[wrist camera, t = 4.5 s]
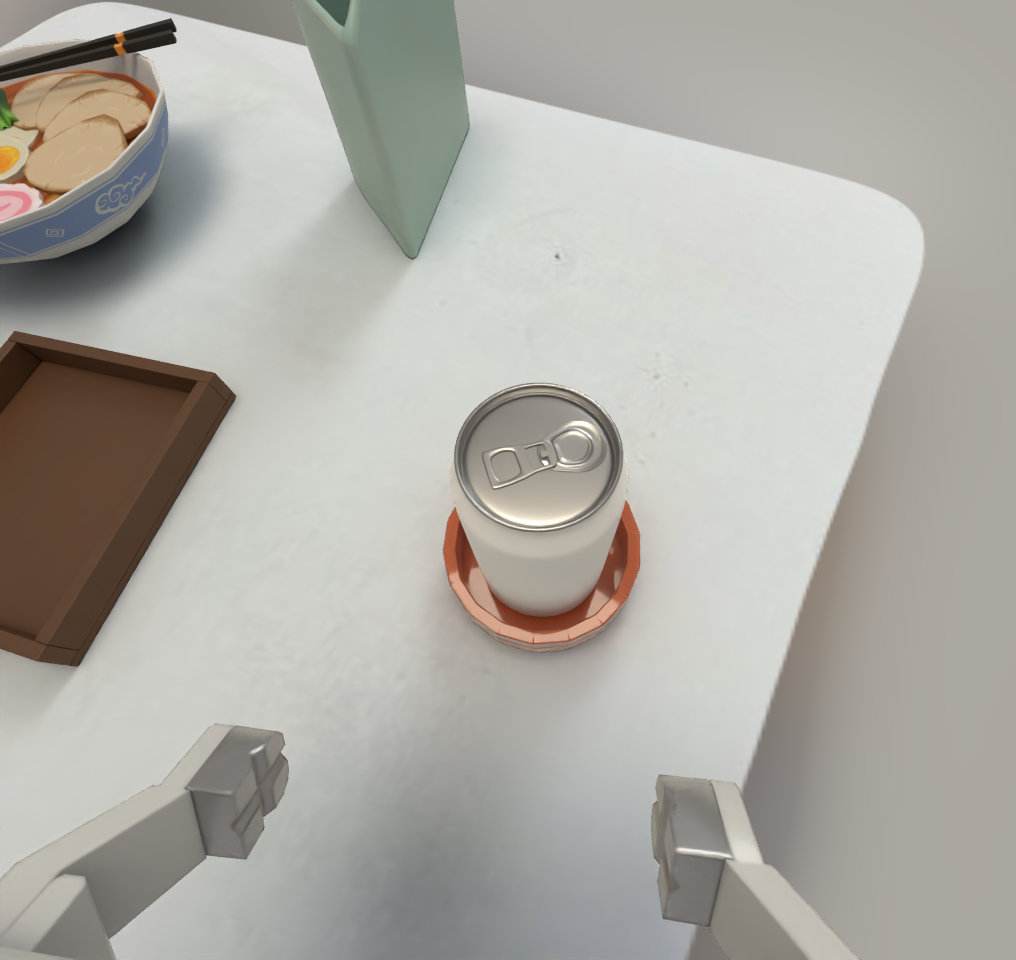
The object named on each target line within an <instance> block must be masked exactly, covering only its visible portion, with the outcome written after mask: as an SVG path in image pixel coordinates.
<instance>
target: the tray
mask: <svg viewBox="0 0 1016 960" xmlns="http://www.w3.org/2000/svg"><path fill="white" fill-rule="evenodd" d="M235 397H236V395H235V394H234V393H233V392H232V391H231V390H230V389H229V388H228V386H227V385H226V384H225V383H224V382H223V381H222V380H221V379H220V378H219V377H218V376H217V375H216V374H215V373H213V372H208V371H203V370H198V369H193V368H189V367H184V366H179V365H174V364H170V363H165V362H160V361H155V360H151V359H146V358H141V357H136V356H132V355H127V354H122V353H117V352H113V351H108V350H103V349H98V348H93V347H89V346H84V345H79V344H74V343H70V342H65V341H60V340H55V339H51V338H46V337H41V336H36V335H32V334H27V333H22V332H17V331H14V332H13V334H12V335H11V336H10V337H9V338H8V341H6V342H5V343H4V345H3V346H2V347H1V348H0V649H3V650H6V651H9V652H12V653H14V654H17V655H20V656H23V657H26V658H29V659H32V660H35V661H39V662H47V663H54V664H62V665H70V666H78V665H79V663H80V662H81V660H82V658H83V657H84V655H85V653H86V651H87V650H88V648H89V646H90V645H91V643H92V641H93V640H94V638H95V636H96V634H97V633H98V631H99V629H100V628H101V626H102V624H103V622H104V621H105V619H106V617H107V616H108V614H109V612H110V611H111V609H112V607H113V605H114V604H115V602H116V600H117V599H118V597H119V595H120V593H121V592H122V590H123V588H124V587H125V585H126V583H127V581H128V580H129V578H130V576H131V575H132V573H133V571H134V570H135V568H136V566H137V564H138V563H139V561H140V559H141V558H142V556H143V554H144V552H145V551H146V549H147V547H148V546H149V544H150V542H151V541H152V539H153V537H154V535H155V534H156V532H157V530H158V529H159V527H160V525H161V523H162V522H163V520H164V518H165V517H166V515H167V513H168V511H169V510H170V508H171V506H172V505H173V503H174V501H175V500H176V498H177V496H178V494H179V493H180V491H181V489H182V488H183V486H184V484H185V482H186V481H187V479H188V477H189V476H190V474H191V472H192V471H193V469H194V467H195V465H196V464H197V462H198V460H199V459H200V457H201V455H202V453H203V452H204V450H205V448H206V447H207V445H208V443H209V441H210V440H211V438H212V436H213V435H214V433H215V431H216V430H217V428H218V426H219V424H220V423H221V421H222V419H223V418H224V416H225V414H226V412H227V411H228V409H229V407H230V406H231V404H232V402H233V401H234V399H235Z"/></svg>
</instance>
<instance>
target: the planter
mask: <svg viewBox="0 0 1016 960" xmlns="http://www.w3.org/2000/svg"><path fill="white" fill-rule="evenodd" d="M291 2H292V5H293V8H294V10H295V13H296V16H297V19H298V21H299V24H300V27H301V30H302V33H303V35H304V38H305V41H306V44H307V46H308V49H309V52H310V55H311V57H312V60H313V63H314V66H315V69H316V71H317V74H318V77H319V80H320V82H321V85H322V88H323V91H324V93H325V96H326V99H327V102H328V105H329V108H330V110H331V113H332V116H333V119H334V122H335V125H336V127H337V130H338V133H339V136H340V139H341V142H342V144H343V147H344V150H345V153H346V156H347V159H348V162H349V165H350V168H351V171H352V174H353V177H354V179H355V181H356V183H357V185H358V187H359V188H360V190H361V192H362V194H363V196H364V197H365V199H366V200H367V202H368V203H369V204H370V206H371V207H372V208H373V210H374V211H375V212H376V214H377V215H378V216H379V218H380V219H381V220H382V221H383V223H384V224H385V225H386V227H387V228H388V229H389V231H390V232H391V234H392V235H393V237H394V238H395V240H396V241H397V243H398V244H399V246H400V247H401V249H402V250H403V251H404V253H405V254H406V255H407V256H408V257H410V258H414V257H416V255H417V253H418V251H419V249H420V246H421V244H422V241H423V239H424V237H425V234H426V232H427V229H428V227H429V224H430V222H431V220H432V217H433V215H434V212H435V210H436V207H437V205H438V203H439V200H440V198H441V195H442V193H443V190H444V188H445V185H446V183H447V181H448V178H449V176H450V173H451V171H452V168H453V166H454V163H455V161H456V158H457V156H458V153H459V151H460V148H461V146H462V144H463V141H464V139H465V136H466V134H467V131H468V129H469V126H470V122H469V114H468V107H467V99H466V91H465V83H464V76H463V68H462V60H461V53H460V45H459V37H458V30H457V21H456V15H455V6H454V0H291Z"/></svg>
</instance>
